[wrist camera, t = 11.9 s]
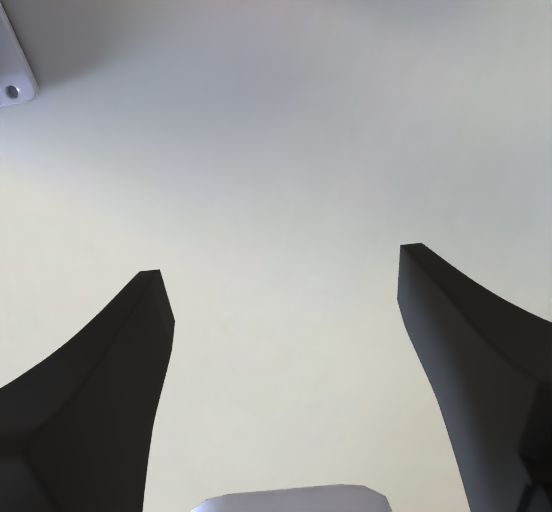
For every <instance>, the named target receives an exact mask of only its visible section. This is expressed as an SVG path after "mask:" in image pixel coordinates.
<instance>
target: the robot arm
mask: <svg viewBox="0 0 552 512" xmlns="http://www.w3.org/2000/svg"><path fill="white" fill-rule="evenodd" d="M10 85H12V86H14V87H16V89H17V90H18V93H19V95H18V96H15V95H14V94H12V93H11V91H10V88H9V87H10ZM38 95H39V87H38V84H37V82H36V79H35V77H34V75H33V73H32V71H31V68H30V66H29V64H28V62H27V60H26V57H25V55H24V53H23V51H22V48H21V46H20V44H19V42H18V40H17V37H16V35H15V33H14V31H13V29H12V26H11V24H10V22H9V20H8V18H7V15H6V13H5V11H4V9H3V7H2V4H1V2H0V107H4V106H9V105H14V104H19V103H24V102H29V101H31V100H33V99H35V98H36V97H37V96H38ZM397 300H398V304H399V308H400V311H401V315H402V318H403V321H404V325H405V328H406V330H407V332H408V335H409V337H410V339H411V342H412V344H413V346H414V348H415V351H416V353H417V355H418V357H419V359H420V362H421V364H422V366H423V368H424V371H425V373H426V375H427V377H428V379H429V382H430V384H431V386H432V388H433V391H434V393H435V396H436V398H437V401H438V404H439V407H440V410H441V413H442V416H443V419H444V422H445V425H446V428H447V431H448V435H449V438H450V441H451V444H452V448H453V451H454V454H455V458H456V461H457V464H458V468H459V471H460V475H461V478H462V482H463V485H464V489H465V493H466V496H467V500H468V503H469V507H470V511H471V512H552V322H549V321H547V320H545V319H542V318H540V317H538V316H536V315H534V314H531V313H529V312H527V311H525V310H523V309H521V308H519V307H518V306H516V305H514V304H512V303H510V302H508V301H506V300H504V299H503V298H501V297H499V296H497V295H496V294H494V293H492V292H491V291H489V290H487V289H486V288H484V287H483V286H481V285H479V284H478V283H476V282H475V281H473V280H472V279H470V278H469V277H467V276H466V275H464V274H463V273H462V272H460V271H459V270H457V269H456V268H455V267H453V266H452V265H451V264H449V263H448V262H446V261H445V260H444V259H442V258H441V257H440V256H438V255H437V254H436V253H434V252H433V251H432V250H430V249H429V248H428V247H426V246H425V245H424V244H422V243H415V244H406V245H400V260H399V277H398V294H397ZM174 325H175V320H174V316H173V313H172V309H171V306H170V303H169V299H168V296H167V292H166V289H165V286H164V282H163V279H162V275H161V272H160V269H159V270H149V271H140V272H139V273H138V274H137V275H136V276H135V277H134V278H133V279H132V280H131V281H130V282H129V283H128V284H127V285H126V286H125V287H124V288H123V289H122V290H121V291H120V292H119V293H118V294H117V295H116V296H115V297H114V298H113V299H112V300H111V301H110V302H109V303H108V305H107V306H106V307H105V308H104V309H103V310H102V311H101V312H100V313H99V314H98V315H96V316H95V317H94V318H93V319H92V320H91V321H90V322H89V323H88V324H87V325H86V326H85V327H84V328H82V329H81V330H80V331H79V332H78V333H77V334H76V335H75V336H74V337H72V338H71V339H70V340H69V341H68V342H66V343H65V344H64V345H63V346H62V347H60V348H59V349H58V350H56V351H55V352H54V353H52V354H51V355H50V356H49V357H47V358H46V359H44V360H43V361H42V362H40V363H39V364H37V365H36V366H34V367H33V368H31V369H30V370H28V371H27V372H25V373H24V374H22V375H21V376H19V377H18V378H16V379H15V380H13V381H12V382H10V383H8V384H7V385H5V386H3V387H2V388H0V512H142V511H143V501H144V491H145V483H146V474H147V466H148V458H149V451H150V444H151V437H152V430H153V424H154V420H155V415H156V411H157V407H158V403H159V399H160V395H161V391H162V387H163V384H164V380H165V376H166V372H167V368H168V364H169V360H170V356H171V351H172V344H173V336H174ZM191 512H392V509H391V507H390V505H389V503H388V501H387V498H386V496H384V495H382V494H380V493H378V492H376V491H374V490H372V489H370V488H368V487H365V486H362V485H345V484H337V485H326V486H314V487H303V488H291V489H280V490H268V491H257V492H245V493H234V494H226V495H222V496H218V497H214V498H210V499H206V500H205V501H204V502H202V503H201V504H200V505H199V506H197V507H196V508H195V509H193V510H192V511H191Z"/></svg>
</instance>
